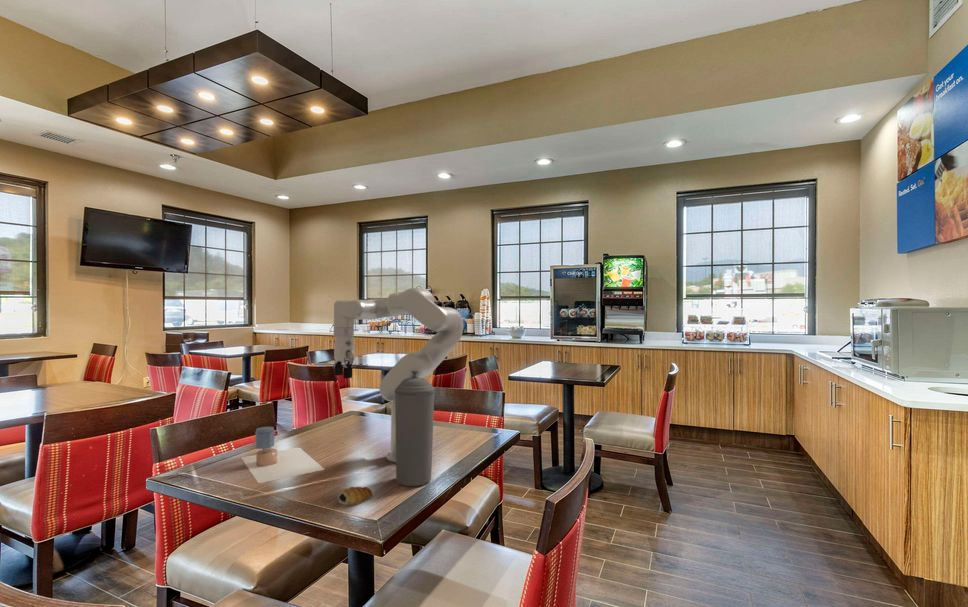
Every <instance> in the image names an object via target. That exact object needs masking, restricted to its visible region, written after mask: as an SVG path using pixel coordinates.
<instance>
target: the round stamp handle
mask: <svg viewBox="0 0 968 607" xmlns="http://www.w3.org/2000/svg"><path fill="white" fill-rule="evenodd" d="M277 451H278V450H277V449H276V448H272V447H270V448H265V449H260V450H257V452H256V453H255V455H256V465H257V466H270V465H274V464H276V463H277Z"/></svg>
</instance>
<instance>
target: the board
mask: <svg viewBox="0 0 968 607" xmlns="http://www.w3.org/2000/svg"><path fill="white" fill-rule="evenodd" d="M240 458H241V460H242V462H243V463H244V464H245V467H246V468H247V469H248V470H249V472H250V474H251V475H252V476H253V478H254V480H256V482H257V483H258V484H262V483H266V482H272V481H276V480H281V479H286V478H292V477H295V476H301V475H305V474H311V473H315V472H316V473H317V472H320V471H325V470H326V468H324V467H323V466H322V465H321V464H319V462H318V461H315V460H314V459H313V458H312V457H311V456H310V455H309V454H308V453H306V451H304V450H303V449H302V448H300V447H294V448H288V449H287V448H286V449H282V450H277V463H276V464H274V465H270V466H257V465H256V454H254V455H253V454H252V455H248V456H247V455H246V456H242V457H240Z"/></svg>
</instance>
